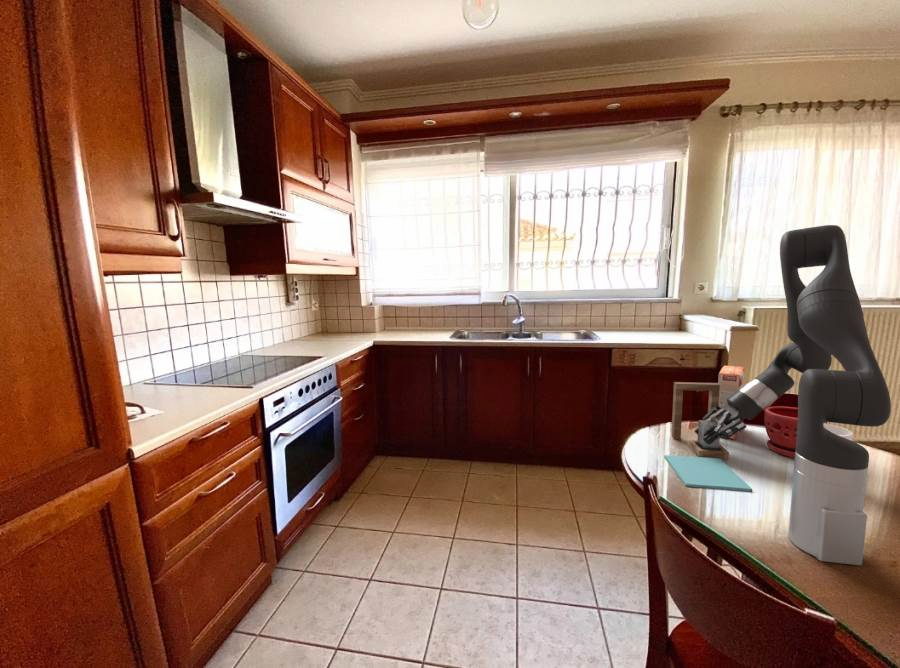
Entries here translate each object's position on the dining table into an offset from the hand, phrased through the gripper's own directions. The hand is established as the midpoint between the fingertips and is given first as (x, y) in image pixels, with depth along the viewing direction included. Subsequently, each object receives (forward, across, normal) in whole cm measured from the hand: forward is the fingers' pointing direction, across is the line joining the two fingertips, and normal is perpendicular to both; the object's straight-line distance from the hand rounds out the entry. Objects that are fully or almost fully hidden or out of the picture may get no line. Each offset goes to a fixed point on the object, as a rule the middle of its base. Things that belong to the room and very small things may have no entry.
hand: (701, 437), depth 109 cm
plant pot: (-14, -4, +21) cm, 26 cm away
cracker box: (-7, -18, +14) cm, 24 cm away
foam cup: (-12, +12, +19) cm, 25 cm away
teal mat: (+6, +13, 0) cm, 14 cm away
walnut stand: (+2, -4, +4) cm, 6 cm away
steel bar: (+2, 0, +4) cm, 5 cm away
